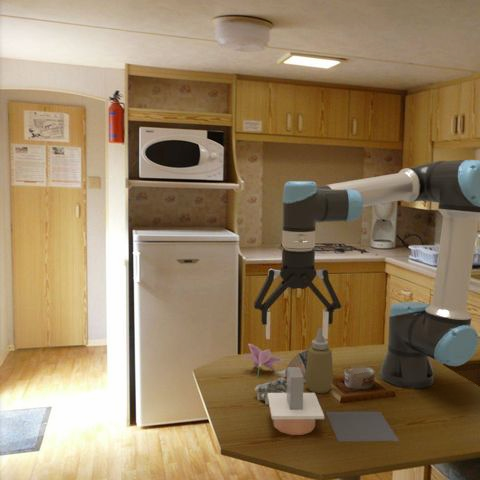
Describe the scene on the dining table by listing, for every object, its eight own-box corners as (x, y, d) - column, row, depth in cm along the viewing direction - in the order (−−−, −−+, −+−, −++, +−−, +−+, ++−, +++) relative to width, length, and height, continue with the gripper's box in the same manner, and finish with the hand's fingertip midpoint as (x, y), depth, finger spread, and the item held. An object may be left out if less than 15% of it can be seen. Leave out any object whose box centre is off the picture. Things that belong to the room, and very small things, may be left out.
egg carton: (269, 408, 131) (269, 393, 130) (252, 397, 137) (252, 383, 136) (299, 398, 137) (300, 383, 136) (282, 388, 143) (282, 374, 142)
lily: (287, 381, 149) (289, 349, 153) (260, 375, 142) (262, 342, 146) (259, 382, 158) (262, 351, 161) (232, 376, 151) (235, 344, 154)
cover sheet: (314, 395, 127) (315, 362, 125) (324, 419, 115) (325, 382, 113) (267, 395, 126) (268, 362, 125) (272, 419, 114) (272, 382, 113)
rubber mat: (379, 413, 128) (380, 411, 128) (399, 443, 114) (399, 440, 114) (325, 414, 127) (325, 411, 127) (338, 443, 114) (338, 441, 113)
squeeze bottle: (299, 386, 143) (300, 326, 141) (323, 382, 146) (325, 323, 144) (313, 398, 136) (315, 335, 133) (338, 394, 139) (341, 331, 136)
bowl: (310, 416, 126) (311, 397, 125) (317, 436, 116) (318, 416, 116) (271, 416, 126) (272, 397, 125) (275, 437, 116) (276, 416, 115)
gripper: (245, 251, 111) (244, 343, 114) (356, 251, 112) (352, 342, 115) (243, 246, 118) (243, 332, 121) (348, 246, 119) (344, 331, 122)
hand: (296, 337), depth 118 cm, fingers open, 13 cm apart
